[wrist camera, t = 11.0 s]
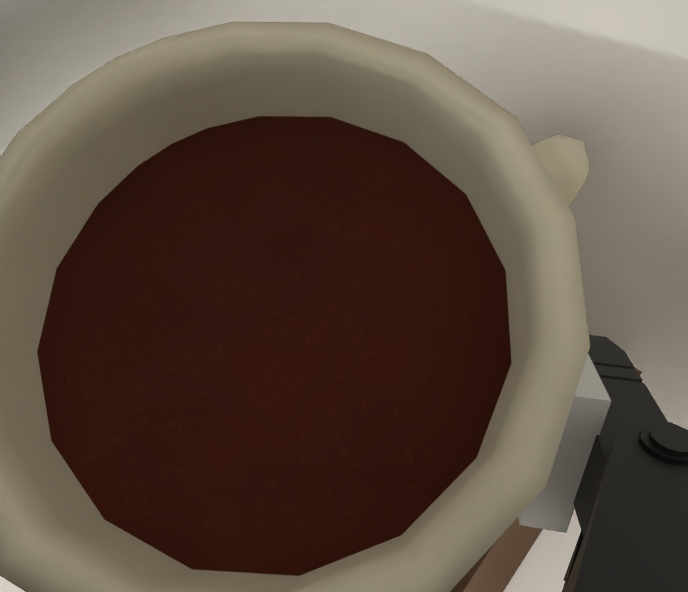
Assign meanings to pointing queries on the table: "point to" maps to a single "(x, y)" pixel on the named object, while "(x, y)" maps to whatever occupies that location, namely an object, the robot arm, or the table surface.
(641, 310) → the table surface
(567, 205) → the character mug
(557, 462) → the robot arm
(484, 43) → the table surface
